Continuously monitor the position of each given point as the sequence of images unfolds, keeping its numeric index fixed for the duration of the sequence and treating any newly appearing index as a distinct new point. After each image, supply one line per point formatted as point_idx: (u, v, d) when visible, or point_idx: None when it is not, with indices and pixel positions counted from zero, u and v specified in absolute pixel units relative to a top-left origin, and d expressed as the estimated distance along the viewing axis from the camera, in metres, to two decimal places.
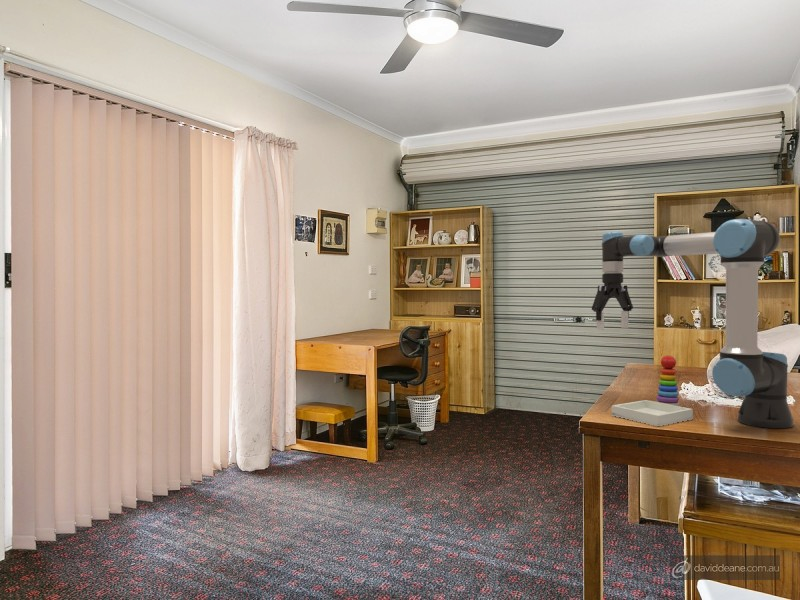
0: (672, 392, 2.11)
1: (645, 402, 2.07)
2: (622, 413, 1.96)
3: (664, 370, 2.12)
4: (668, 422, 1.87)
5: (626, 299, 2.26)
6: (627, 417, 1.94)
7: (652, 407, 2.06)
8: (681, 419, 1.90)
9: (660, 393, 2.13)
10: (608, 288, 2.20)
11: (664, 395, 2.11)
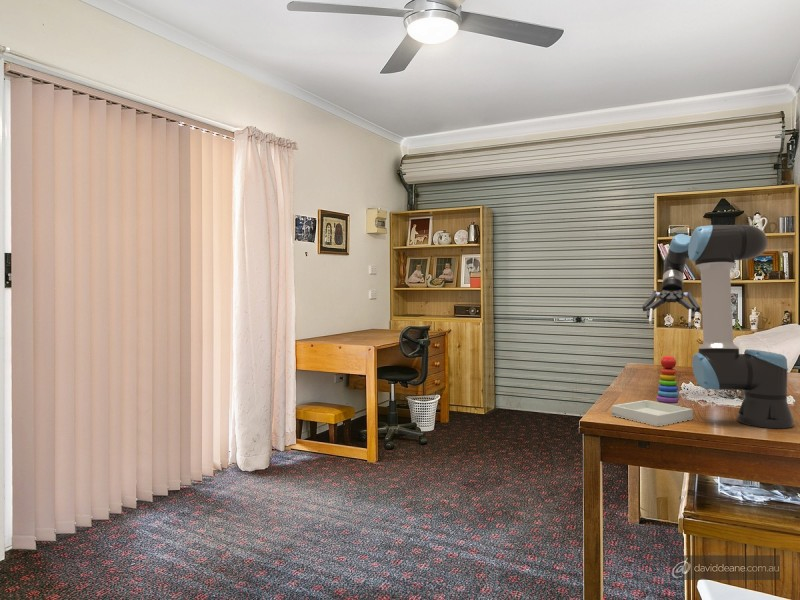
0: (672, 392, 2.11)
1: (645, 402, 2.07)
2: (622, 413, 1.96)
3: (664, 370, 2.12)
4: (668, 422, 1.87)
5: (691, 302, 2.25)
6: (627, 417, 1.94)
7: (652, 407, 2.06)
8: (681, 419, 1.90)
9: (660, 393, 2.13)
10: (661, 292, 2.32)
11: (664, 395, 2.11)
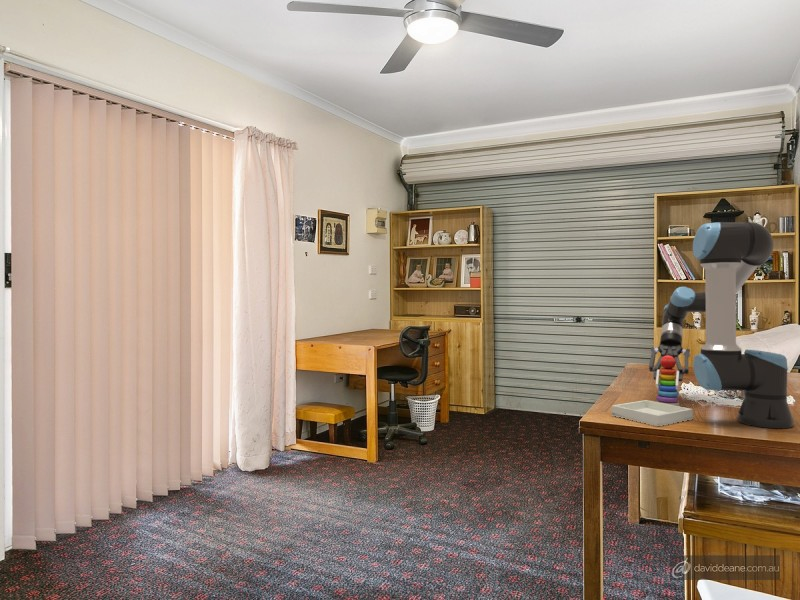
0: (672, 392, 2.11)
1: (645, 402, 2.07)
2: (622, 413, 1.96)
3: (664, 370, 2.12)
4: (668, 422, 1.87)
5: None
6: (627, 417, 1.94)
7: (652, 407, 2.06)
8: (681, 419, 1.90)
9: (660, 393, 2.13)
10: (660, 347, 2.21)
11: (664, 395, 2.11)
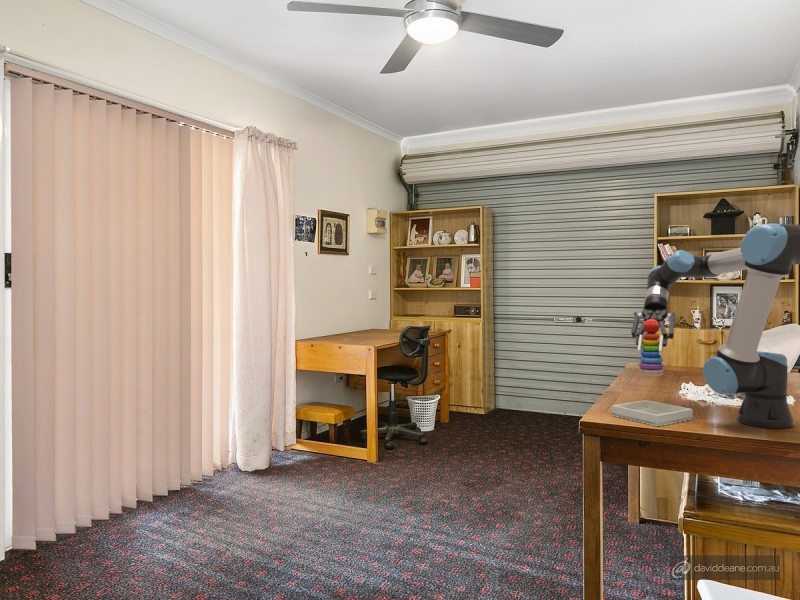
0: (655, 358, 1.95)
1: (645, 402, 2.07)
2: (622, 413, 1.96)
3: (647, 335, 1.97)
4: (668, 422, 1.87)
5: (669, 325, 1.99)
6: (627, 417, 1.94)
7: (652, 407, 2.06)
8: (681, 419, 1.90)
9: (643, 360, 1.97)
10: (643, 312, 2.06)
11: (647, 361, 1.96)
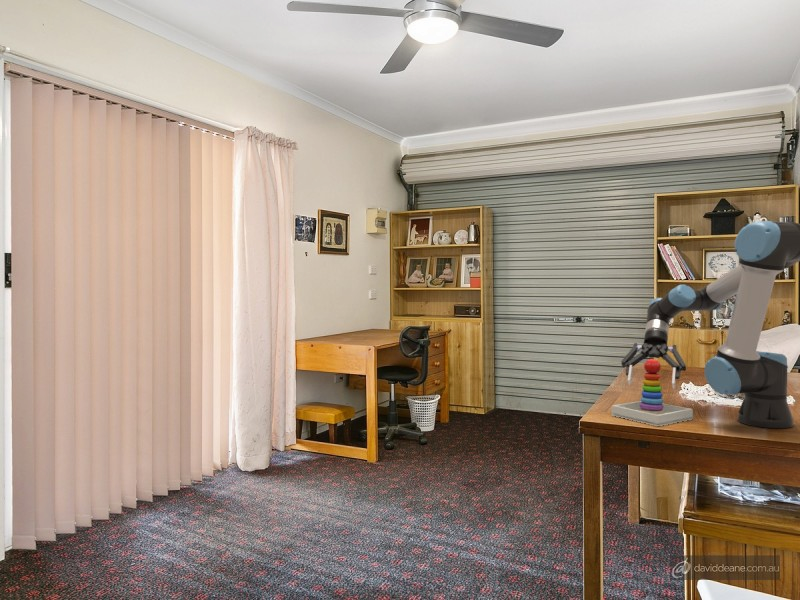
0: (656, 399, 1.94)
1: None
2: (622, 413, 1.96)
3: (647, 375, 1.96)
4: (668, 422, 1.87)
5: (677, 358, 1.97)
6: (627, 417, 1.94)
7: None
8: (681, 419, 1.90)
9: (643, 400, 1.96)
10: (643, 346, 2.05)
11: (647, 402, 1.94)
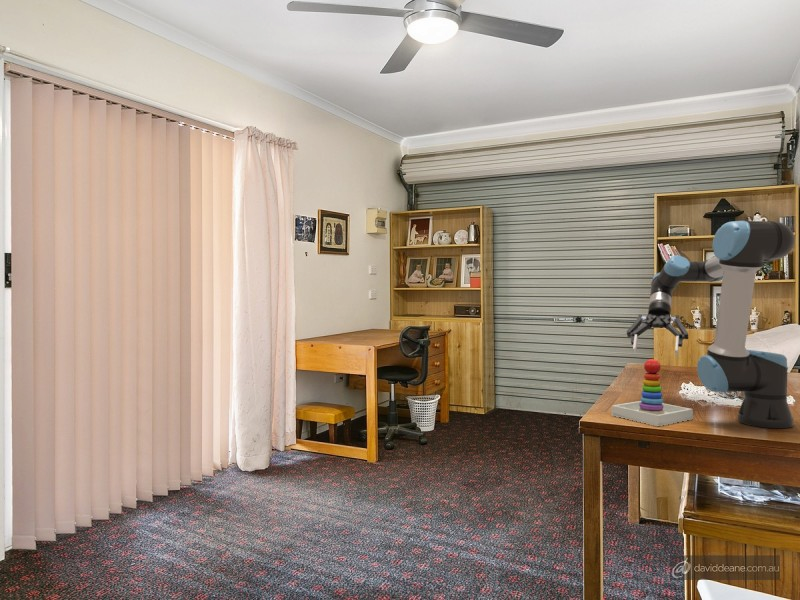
0: (656, 399, 1.94)
1: None
2: (622, 413, 1.96)
3: (647, 375, 1.95)
4: (668, 422, 1.87)
5: (679, 327, 2.07)
6: (627, 417, 1.94)
7: None
8: (681, 419, 1.90)
9: (643, 400, 1.96)
10: (647, 317, 2.15)
11: (647, 402, 1.94)
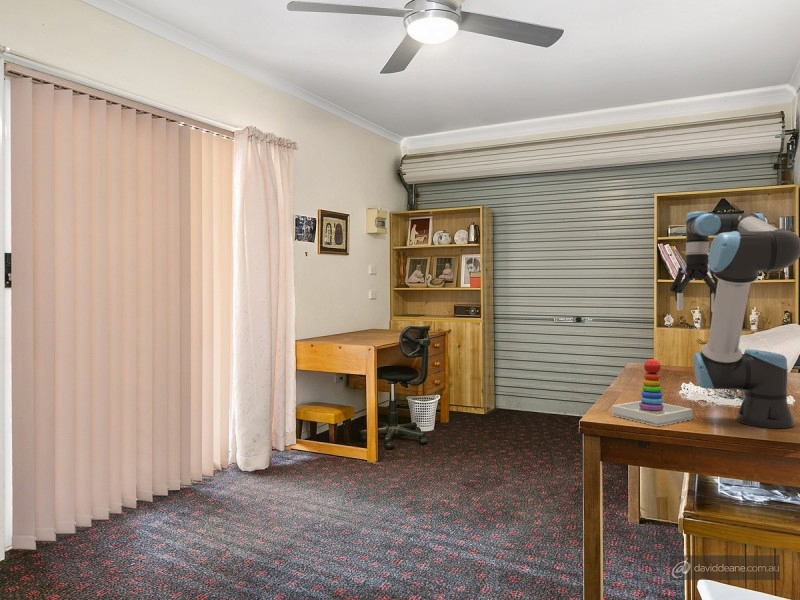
0: (656, 399, 1.94)
1: None
2: (622, 413, 1.96)
3: (647, 375, 1.95)
4: (668, 422, 1.87)
5: None
6: (627, 417, 1.94)
7: None
8: (681, 419, 1.90)
9: (643, 400, 1.96)
10: (686, 269, 2.20)
11: (647, 402, 1.94)
